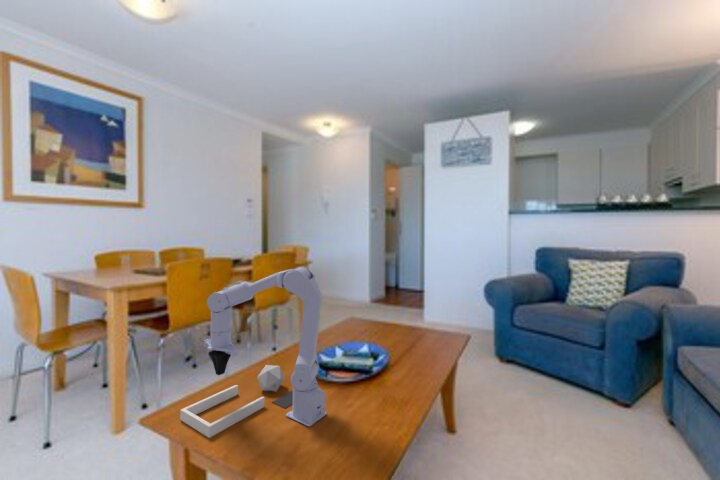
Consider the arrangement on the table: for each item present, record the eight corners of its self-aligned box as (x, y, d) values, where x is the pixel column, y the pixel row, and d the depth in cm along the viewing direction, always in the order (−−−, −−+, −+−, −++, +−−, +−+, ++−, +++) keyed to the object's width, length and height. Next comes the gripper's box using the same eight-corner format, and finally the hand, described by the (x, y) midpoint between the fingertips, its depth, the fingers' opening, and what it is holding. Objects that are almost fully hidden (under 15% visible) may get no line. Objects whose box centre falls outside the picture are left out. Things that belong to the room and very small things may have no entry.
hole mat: (307, 395, 109) (307, 394, 109) (285, 408, 100) (285, 408, 100) (294, 390, 112) (294, 389, 112) (271, 402, 104) (271, 402, 104)
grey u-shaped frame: (264, 406, 101) (264, 397, 101) (209, 437, 86) (209, 426, 86) (236, 393, 109) (236, 384, 109) (180, 419, 93) (180, 409, 93)
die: (267, 400, 106) (285, 374, 108) (248, 383, 109) (266, 358, 111) (275, 397, 114) (292, 372, 116) (257, 381, 116) (274, 358, 118)
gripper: (194, 328, 100) (194, 372, 101) (223, 338, 92) (223, 385, 93) (215, 323, 106) (215, 364, 107) (244, 332, 98) (243, 376, 99)
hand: (220, 373), depth 100 cm, fingers closed
